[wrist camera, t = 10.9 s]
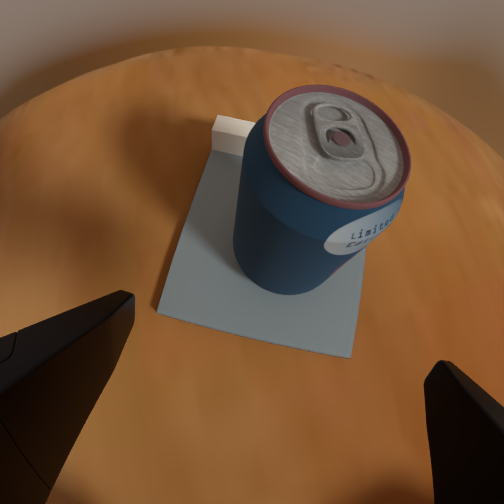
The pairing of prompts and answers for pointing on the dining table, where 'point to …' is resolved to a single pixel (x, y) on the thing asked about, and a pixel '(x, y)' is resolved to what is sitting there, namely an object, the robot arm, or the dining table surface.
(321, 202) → the soda can
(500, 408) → the robot arm
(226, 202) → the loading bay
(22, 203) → the dining table surface
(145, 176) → the dining table surface
